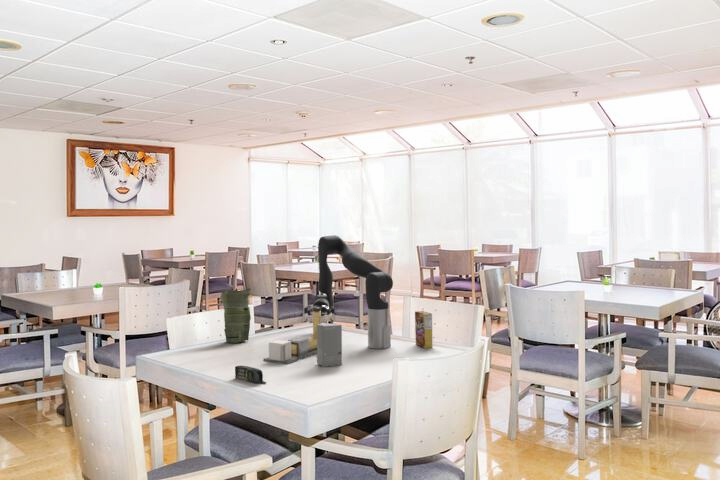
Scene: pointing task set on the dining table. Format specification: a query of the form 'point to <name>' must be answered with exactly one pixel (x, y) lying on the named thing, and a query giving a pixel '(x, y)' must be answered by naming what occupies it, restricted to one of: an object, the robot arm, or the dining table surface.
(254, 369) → the mobile phone
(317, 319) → the yellow angular piece
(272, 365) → the dining table surface
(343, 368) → the dining table surface
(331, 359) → the skincare box
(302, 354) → the grey base with blocks
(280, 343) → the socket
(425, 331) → the candy box
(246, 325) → the pouch
